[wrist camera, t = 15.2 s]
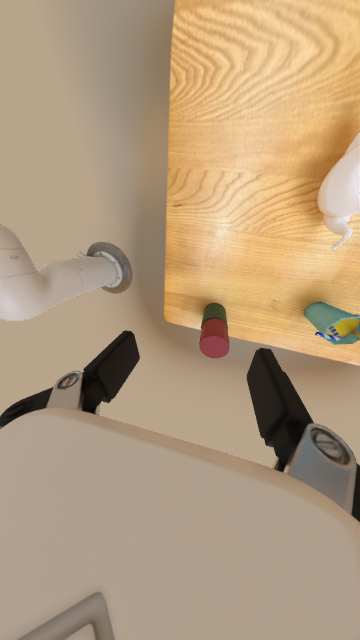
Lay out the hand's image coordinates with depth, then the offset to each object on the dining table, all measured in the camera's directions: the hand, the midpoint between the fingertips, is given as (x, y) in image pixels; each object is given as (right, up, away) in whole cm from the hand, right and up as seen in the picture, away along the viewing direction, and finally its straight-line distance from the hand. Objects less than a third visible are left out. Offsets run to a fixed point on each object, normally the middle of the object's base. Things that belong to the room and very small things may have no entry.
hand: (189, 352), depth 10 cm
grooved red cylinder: (+9, 0, +26) cm, 28 cm away
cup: (+38, +5, +27) cm, 46 cm away
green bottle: (+11, +5, +34) cm, 37 cm away
